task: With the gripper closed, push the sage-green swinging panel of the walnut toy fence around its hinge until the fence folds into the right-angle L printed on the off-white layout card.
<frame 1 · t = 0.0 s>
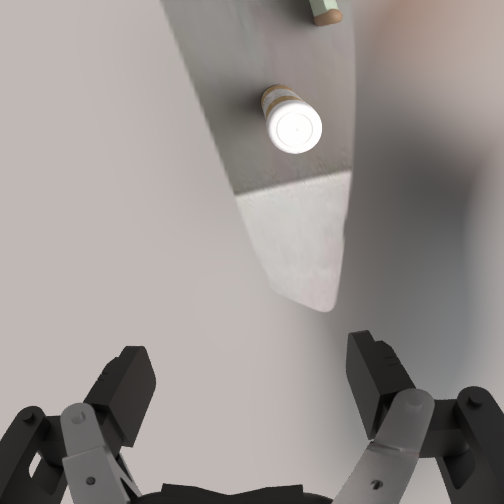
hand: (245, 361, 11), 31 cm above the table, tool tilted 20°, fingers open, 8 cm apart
sprinkles bottle: (278, 101, 34), on the table
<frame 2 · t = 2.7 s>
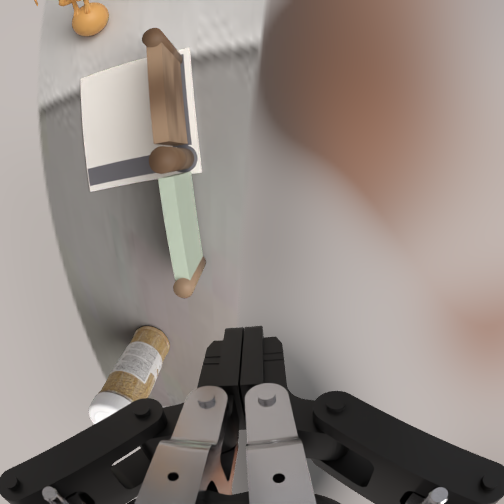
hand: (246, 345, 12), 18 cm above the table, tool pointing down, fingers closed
layout card: (184, 158, 27), on the table
swing panel: (183, 230, 25), point 4 cm above the table, hinge at 0.0°
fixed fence: (184, 158, 27), resting on layout card
sprinkles bottle: (152, 339, 33), on the table
figurine: (101, 18, 22), on the table
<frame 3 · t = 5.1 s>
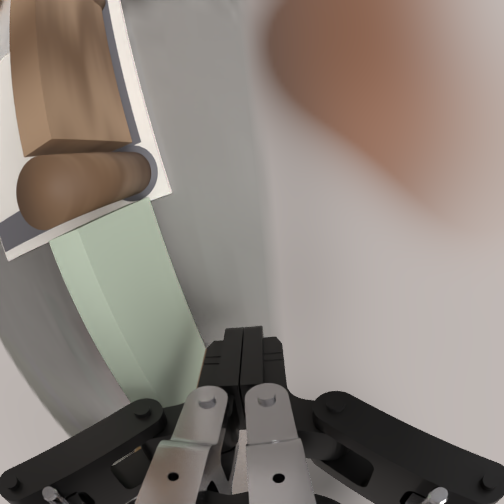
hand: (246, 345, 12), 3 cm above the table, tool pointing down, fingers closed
layout card: (134, 173, 13), on the table
swing panel: (152, 328, 11), point 4 cm above the table, hinge at -0.9°, touching gripper
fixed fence: (134, 173, 13), resting on layout card
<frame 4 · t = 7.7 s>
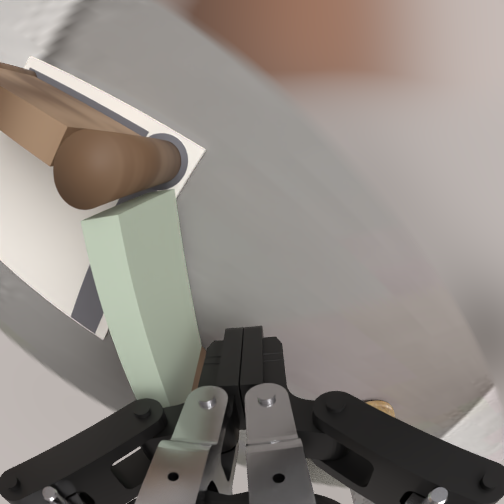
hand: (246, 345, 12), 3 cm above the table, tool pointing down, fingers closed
layout card: (161, 161, 13), on the table
swing panel: (161, 322, 11), point 4 cm above the table, hinge at -51.1°, touching gripper
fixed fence: (161, 161, 13), resting on layout card
sprinkles bottle: (362, 416, 18), on the table
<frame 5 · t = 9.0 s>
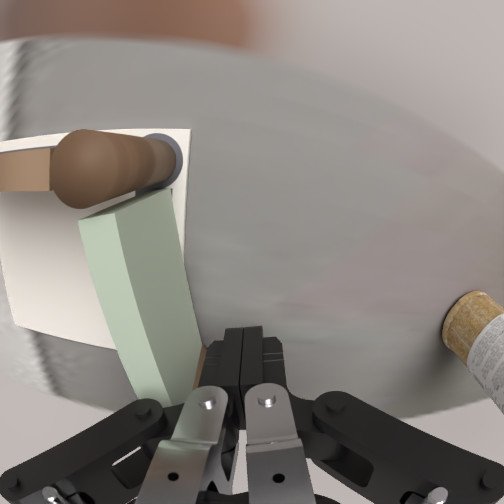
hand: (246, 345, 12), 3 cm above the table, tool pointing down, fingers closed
layout card: (157, 161, 13), on the table
swing panel: (160, 320, 11), point 4 cm above the table, hinge at -77.8°, touching gripper
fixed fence: (157, 161, 13), resting on layout card
sprinkles bottle: (463, 317, 16), on the table
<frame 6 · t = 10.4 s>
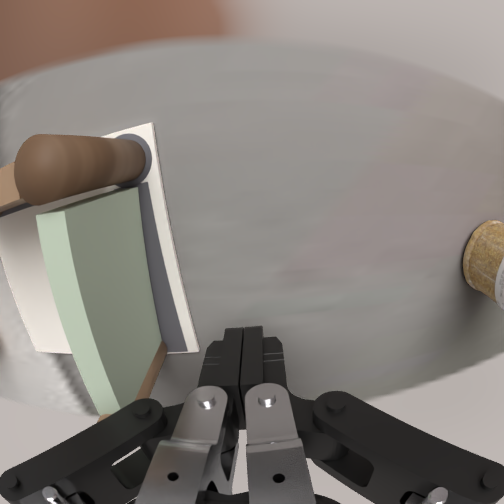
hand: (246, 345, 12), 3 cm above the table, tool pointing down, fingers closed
layout card: (129, 160, 13), on the table
swing panel: (114, 313, 11), point 4 cm above the table, hinge at -95.4°
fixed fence: (129, 160, 13), resting on layout card
sprinkles bottle: (483, 253, 15), on the table
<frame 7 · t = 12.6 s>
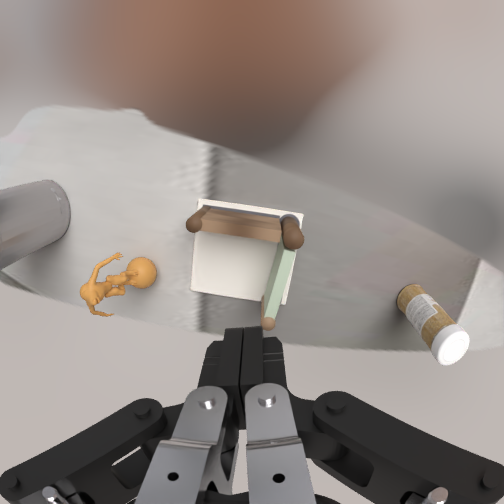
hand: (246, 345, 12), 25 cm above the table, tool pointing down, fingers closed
layout card: (288, 224, 36), on the table
swing panel: (276, 281, 34), point 4 cm above the table, hinge at -95.4°
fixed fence: (288, 224, 36), resting on layout card
sprinkles bottle: (409, 296, 39), on the table
figurine: (140, 264, 39), on the table
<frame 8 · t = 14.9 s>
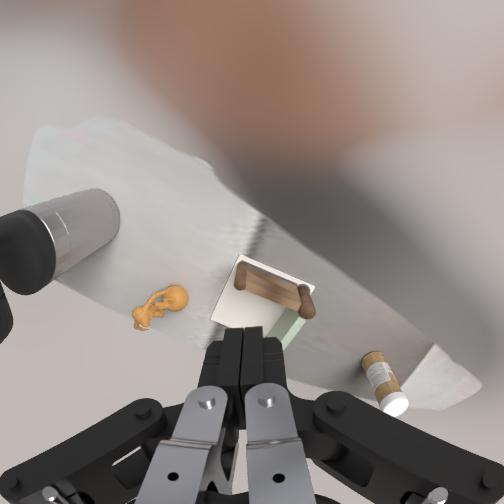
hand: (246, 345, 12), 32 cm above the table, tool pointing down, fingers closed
layout card: (301, 290, 46), on the table
swing panel: (282, 332, 44), point 4 cm above the table, hinge at -95.4°
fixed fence: (301, 290, 46), resting on layout card
sprinkles bottle: (371, 359, 51), on the table
figurine: (173, 288, 47), on the table
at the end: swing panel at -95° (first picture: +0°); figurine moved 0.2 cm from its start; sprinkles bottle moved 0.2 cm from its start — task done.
